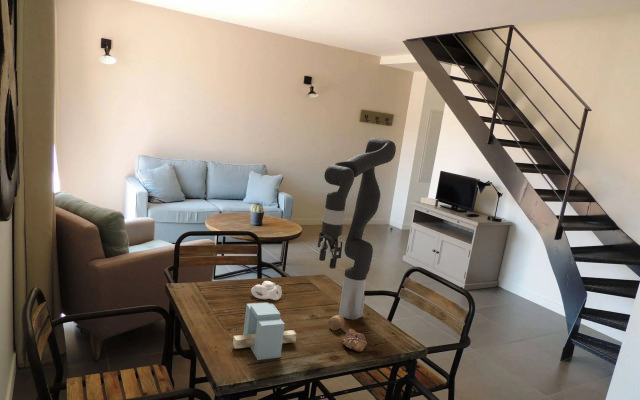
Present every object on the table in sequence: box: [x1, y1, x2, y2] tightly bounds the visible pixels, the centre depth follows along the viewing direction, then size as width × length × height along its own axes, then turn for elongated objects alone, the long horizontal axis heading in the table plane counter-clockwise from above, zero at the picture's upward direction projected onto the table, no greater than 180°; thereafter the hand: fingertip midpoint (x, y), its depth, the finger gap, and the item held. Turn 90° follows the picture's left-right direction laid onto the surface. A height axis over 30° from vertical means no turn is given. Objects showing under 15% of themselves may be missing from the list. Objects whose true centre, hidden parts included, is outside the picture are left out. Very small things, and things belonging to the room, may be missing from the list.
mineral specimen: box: [341, 327, 368, 352], centre depth 163 cm, size 12×8×7 cm
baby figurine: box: [250, 280, 283, 301], centre depth 196 cm, size 9×13×9 cm
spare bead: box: [327, 314, 345, 331], centre depth 175 cm, size 4×5×5 cm
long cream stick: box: [232, 329, 297, 349], centre depth 155 cm, size 22×3×3 cm, turn 116°
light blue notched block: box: [242, 302, 286, 361], centre depth 153 cm, size 8×17×14 cm, turn 26°
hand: (327, 264), depth 163 cm, fingers open, 8 cm apart
